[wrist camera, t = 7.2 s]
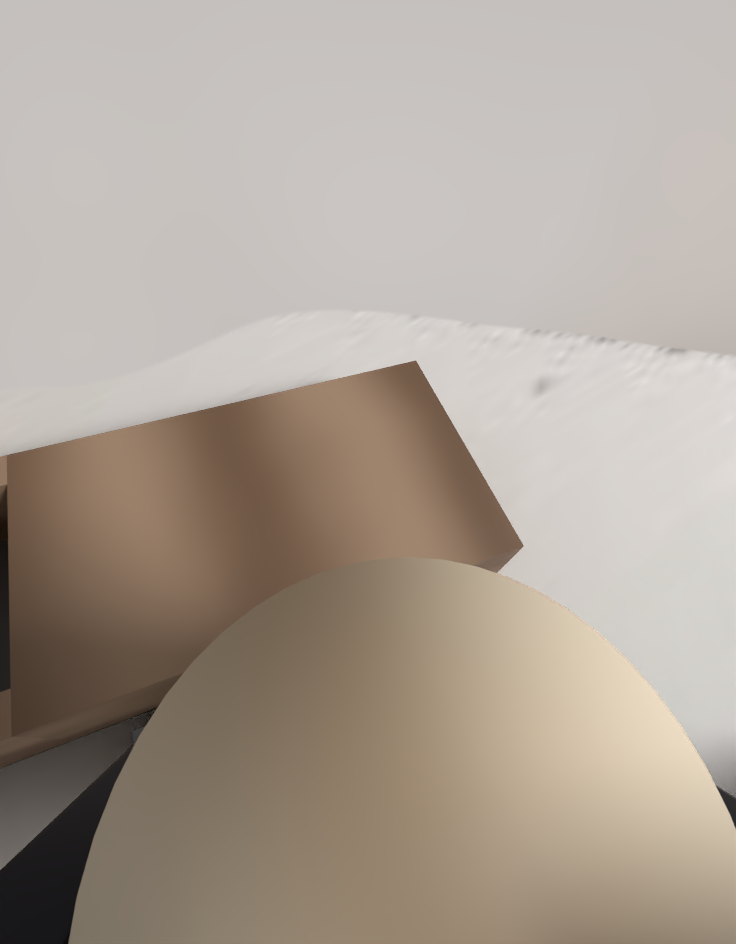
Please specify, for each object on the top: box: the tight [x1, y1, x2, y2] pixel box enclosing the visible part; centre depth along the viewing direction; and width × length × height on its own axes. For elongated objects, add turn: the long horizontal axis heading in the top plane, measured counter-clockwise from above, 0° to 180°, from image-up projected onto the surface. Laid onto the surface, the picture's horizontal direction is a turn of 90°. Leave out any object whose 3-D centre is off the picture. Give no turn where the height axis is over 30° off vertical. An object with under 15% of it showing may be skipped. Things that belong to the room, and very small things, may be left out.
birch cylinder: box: [68, 557, 736, 944], centre depth 7 cm, size 5×5×8 cm
